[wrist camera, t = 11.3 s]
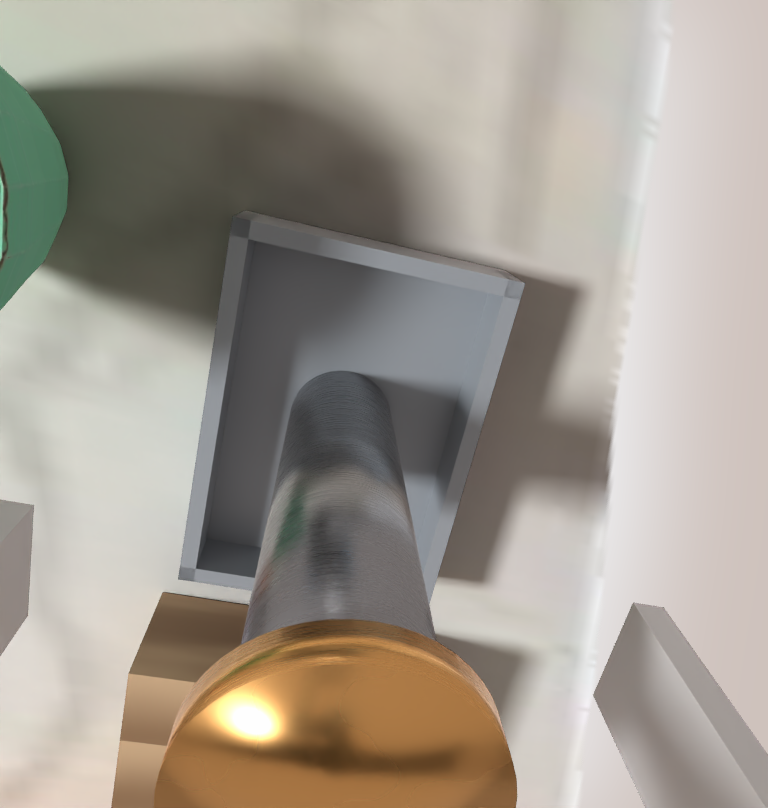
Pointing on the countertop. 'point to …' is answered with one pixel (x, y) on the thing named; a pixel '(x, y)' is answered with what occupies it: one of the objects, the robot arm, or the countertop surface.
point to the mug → (27, 186)
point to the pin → (338, 646)
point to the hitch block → (168, 684)
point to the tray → (340, 351)
